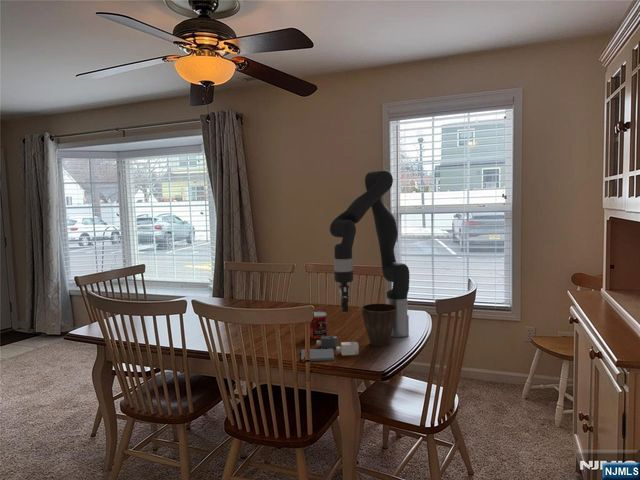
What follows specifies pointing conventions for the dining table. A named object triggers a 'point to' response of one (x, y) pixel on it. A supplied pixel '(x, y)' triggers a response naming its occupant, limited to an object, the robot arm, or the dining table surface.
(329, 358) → the felt pad
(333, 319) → the dining table surface
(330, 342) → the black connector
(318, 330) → the canned food
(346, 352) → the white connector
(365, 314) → the plant pot
